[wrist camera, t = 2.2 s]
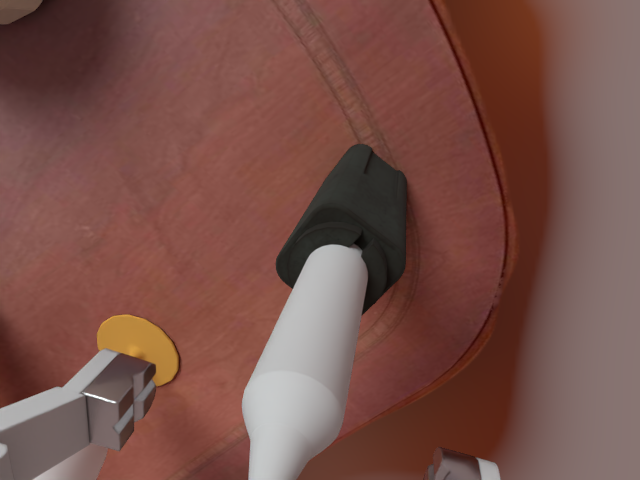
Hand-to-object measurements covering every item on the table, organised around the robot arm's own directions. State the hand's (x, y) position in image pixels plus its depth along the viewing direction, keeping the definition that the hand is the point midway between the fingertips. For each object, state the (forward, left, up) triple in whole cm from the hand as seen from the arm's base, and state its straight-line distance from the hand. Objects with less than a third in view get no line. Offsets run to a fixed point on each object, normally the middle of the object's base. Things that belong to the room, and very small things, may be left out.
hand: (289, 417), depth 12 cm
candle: (0, 0, -22) cm, 22 cm away
